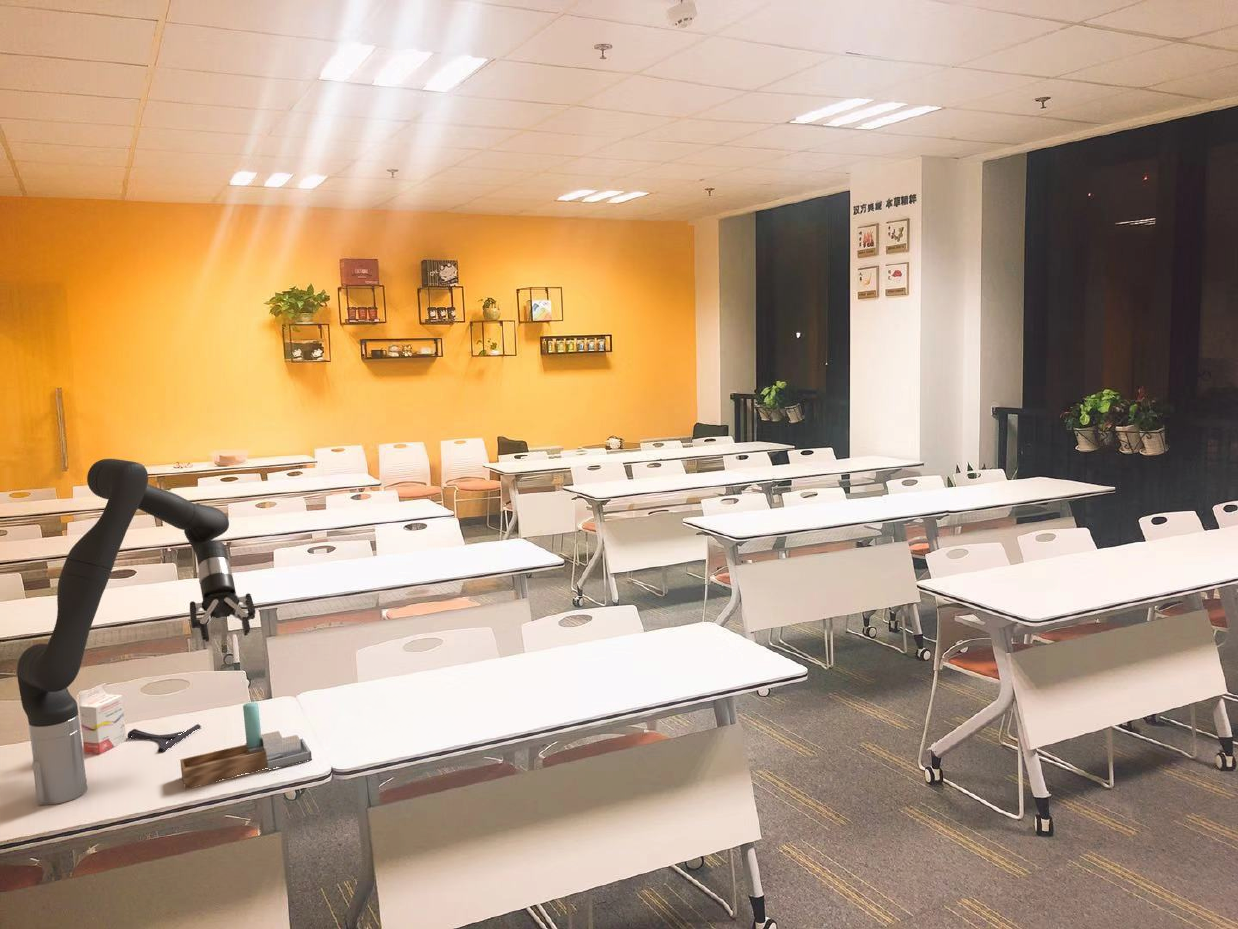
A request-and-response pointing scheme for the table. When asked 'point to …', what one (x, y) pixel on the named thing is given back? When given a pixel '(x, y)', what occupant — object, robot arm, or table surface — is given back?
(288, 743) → the chip
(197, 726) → the black forked piece
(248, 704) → the teal block
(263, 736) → the light grey block
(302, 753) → the tray
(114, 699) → the ink cartridge box
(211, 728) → the table surface
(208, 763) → the channel
